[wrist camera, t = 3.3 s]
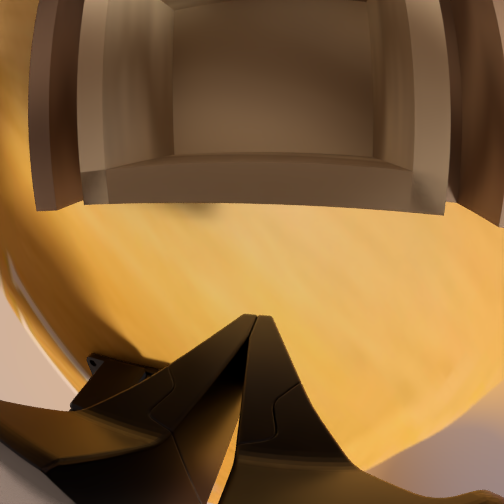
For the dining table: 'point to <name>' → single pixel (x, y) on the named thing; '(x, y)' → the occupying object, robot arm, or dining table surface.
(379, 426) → the dining table surface
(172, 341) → the dining table surface
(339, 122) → the box
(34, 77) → the bay
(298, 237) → the dining table surface
